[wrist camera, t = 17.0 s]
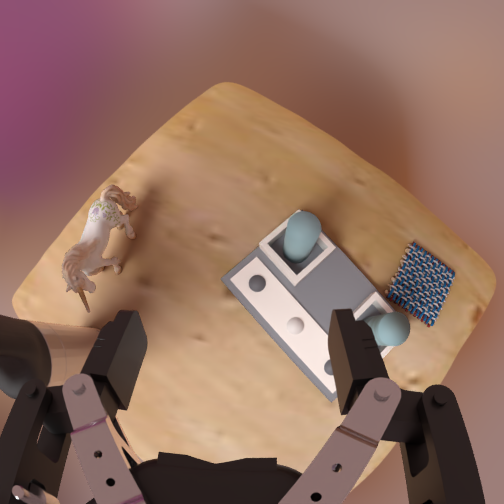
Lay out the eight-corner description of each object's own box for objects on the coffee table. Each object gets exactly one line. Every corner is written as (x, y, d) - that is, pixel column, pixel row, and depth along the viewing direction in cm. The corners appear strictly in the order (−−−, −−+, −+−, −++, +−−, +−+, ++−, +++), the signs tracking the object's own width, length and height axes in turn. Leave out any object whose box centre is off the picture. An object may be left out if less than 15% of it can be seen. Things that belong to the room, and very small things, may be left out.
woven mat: (453, 274, 45) (459, 271, 43) (429, 329, 43) (435, 329, 41) (408, 240, 47) (413, 236, 45) (380, 296, 45) (384, 294, 43)
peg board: (329, 401, 41) (348, 419, 30) (221, 280, 46) (208, 263, 36) (405, 325, 43) (440, 321, 33) (301, 212, 48) (310, 178, 38)
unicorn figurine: (94, 316, 46) (44, 308, 33) (106, 203, 50) (67, 167, 38) (133, 319, 45) (89, 312, 32) (143, 200, 50) (110, 161, 37)
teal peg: (367, 350, 42) (393, 353, 32) (350, 330, 43) (372, 328, 33) (386, 331, 42) (416, 328, 33) (369, 311, 43) (395, 304, 34)
